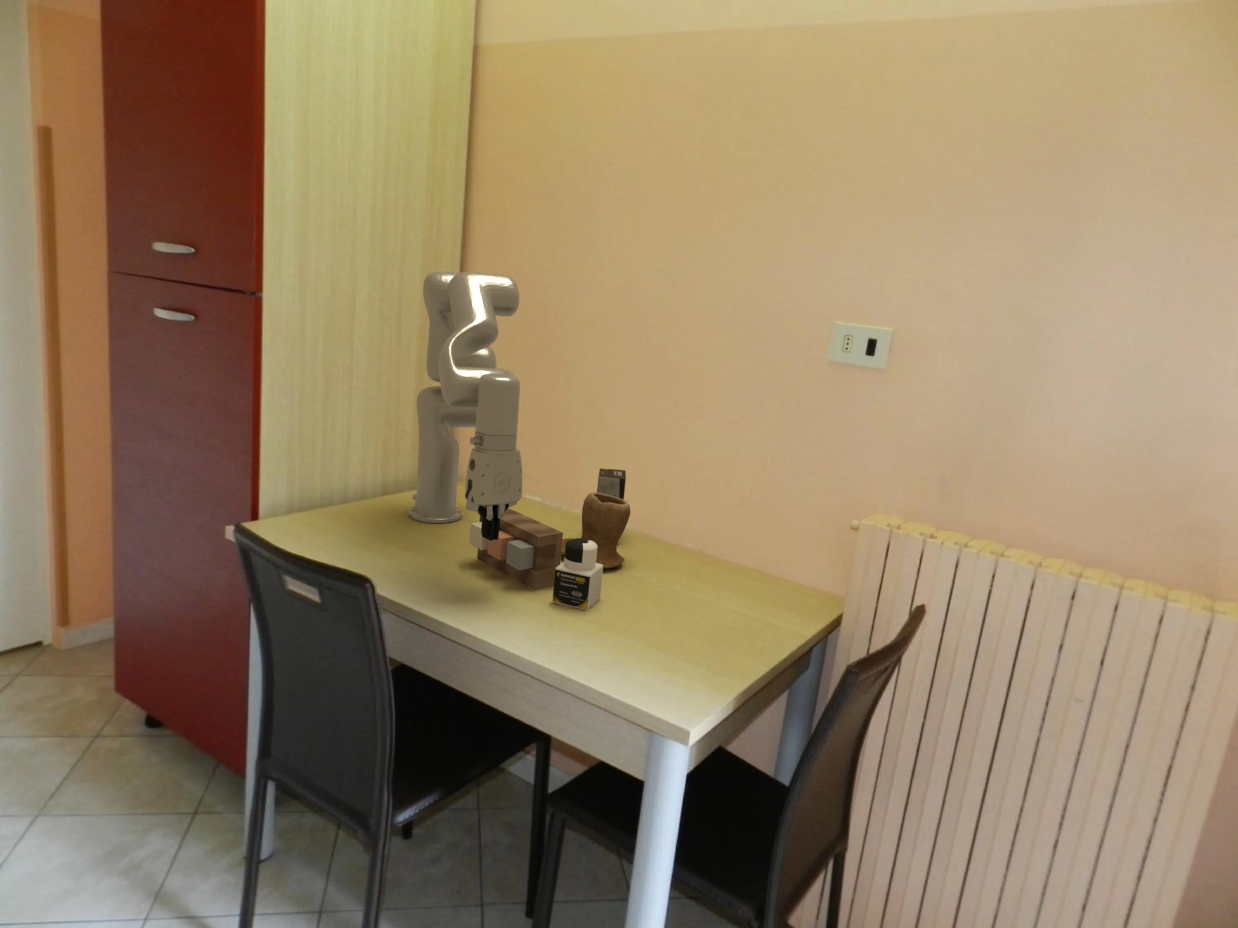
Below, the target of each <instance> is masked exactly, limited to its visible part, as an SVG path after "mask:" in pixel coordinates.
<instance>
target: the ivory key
mask: <svg viewBox="0 0 1238 928" xmlns="http://www.w3.org/2000/svg"><path fill="white" fill-rule="evenodd" d="M481 527H482V522H479V521H477V522H471V523H470V527H469V528H470V529H469V541H468V542H469V545H471V546H473V547H475V548H477V550H478V549H480V550H486V549H488V539H486V538H483V537H482V533H481Z"/></svg>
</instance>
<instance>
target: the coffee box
mask: <svg viewBox="0 0 1238 928" xmlns="http://www.w3.org/2000/svg"><path fill="white" fill-rule="evenodd" d="M598 471H599V472H598V478H597V485H596V486H597V487H596V493H602V494H607V495H611V496H614V497H617V498H620V499H623V500H625V490H626V482H627V481H626V480H627V479H626V478H627V477H626V470H624V469H623V470H622V469H615V468H614V469H611V468H599V470H598ZM619 543H620V540H619V541H618V543H617V546H619Z"/></svg>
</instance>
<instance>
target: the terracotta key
mask: <svg viewBox="0 0 1238 928" xmlns="http://www.w3.org/2000/svg"><path fill="white" fill-rule="evenodd" d="M509 541H515V535H513V534H511V533H508V532H506V531H504V530H500V531H499V538H498V540H492V541H490V540H488V549H487V553H488V554H490V555H492V556H493V557H495V558H497V559H499V560H503V559H506V557H507V543H508V542H509Z"/></svg>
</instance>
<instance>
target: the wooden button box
mask: <svg viewBox="0 0 1238 928" xmlns="http://www.w3.org/2000/svg"><path fill="white" fill-rule="evenodd" d="M478 522H482V517H481V516H480V515H479V520H478ZM500 530H504V531H506V532H508V533H511V534H513V535H515V540H521V539H523V540H525V541H527V542H529V543H531V544H533V545H535V551H534V564H533V568H529V569H524V570H518V569H516V568H514V567H512V566H510V565H509V564H507V563H506V559H503V560H499V559H497V558H495V557H493V556H492V555H490V554H488V553H487V549H486V550H480V549H478V548H477V555H476V559H477V560H478V561H479V562H481V563H483V564H485V565H487V566H488V567H490V568H492V569H494V570H496V571H498V572H499V573H501V574H503V575H505V576H507V577H509V578H510V579H512V580H513V581H516V582H518V583H520V584H522V585H524V586H525V587H527V588H529V589H530V590H532V591H539V590H543V589H547V588H552V587H553V588H554V578H555V568H556V567H558V566H559V565H560V564H561V563H562V562H561V559H562V554H561V550H562V539H564V537H563V536H564V532H562V531H561V530H558V529H556V528H554V527H551V526H549V525H547V524H544V523H542V522H541V521H538V520H536V519H534V518H531V517H530V516H527V515H525V514H523V513H520V512H518V511H516V510H514V509H511V508H510V507H509V508H508V509H507V510H506V511H505V512H504V515H503V518H502V519H500ZM500 530H499V531H500Z"/></svg>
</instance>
